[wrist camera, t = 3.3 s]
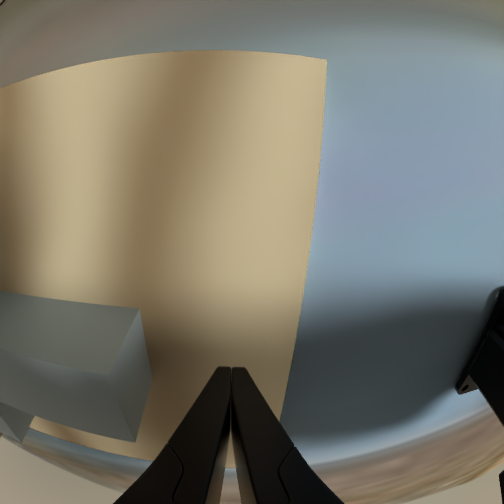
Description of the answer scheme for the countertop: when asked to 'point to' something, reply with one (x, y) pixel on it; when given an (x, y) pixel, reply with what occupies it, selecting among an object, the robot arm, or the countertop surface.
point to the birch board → (169, 212)
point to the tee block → (72, 366)
